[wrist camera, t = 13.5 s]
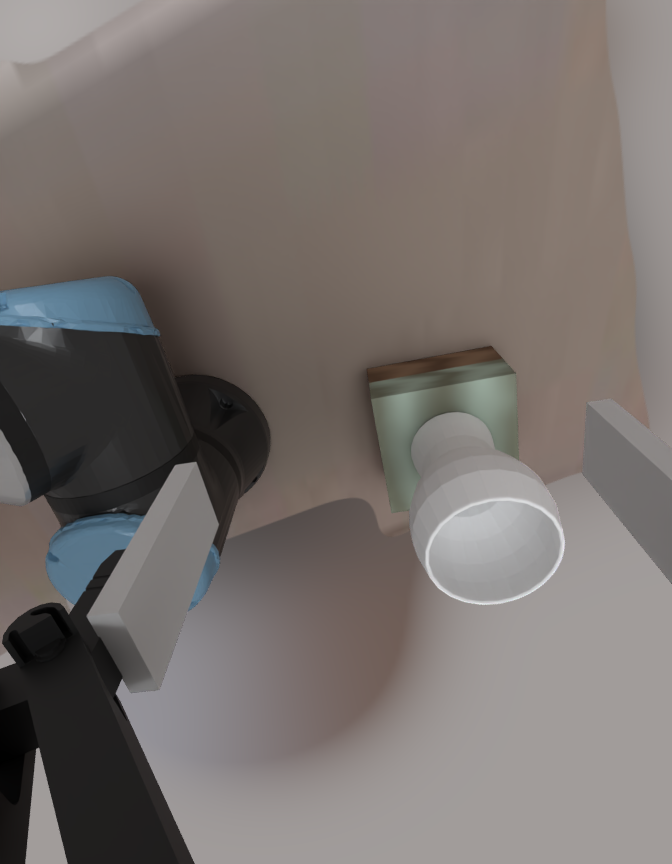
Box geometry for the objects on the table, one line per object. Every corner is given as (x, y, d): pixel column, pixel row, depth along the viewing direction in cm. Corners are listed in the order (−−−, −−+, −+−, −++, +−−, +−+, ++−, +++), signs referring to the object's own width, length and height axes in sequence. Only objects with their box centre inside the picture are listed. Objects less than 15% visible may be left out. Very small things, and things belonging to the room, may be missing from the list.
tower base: (385, 471, 58) (391, 513, 50) (366, 369, 52) (371, 399, 45) (497, 453, 56) (520, 493, 49) (491, 346, 50) (515, 373, 43)
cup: (504, 387, 44) (575, 477, 31) (510, 484, 49) (573, 599, 35) (387, 408, 45) (406, 505, 32) (404, 502, 50) (426, 620, 36)
